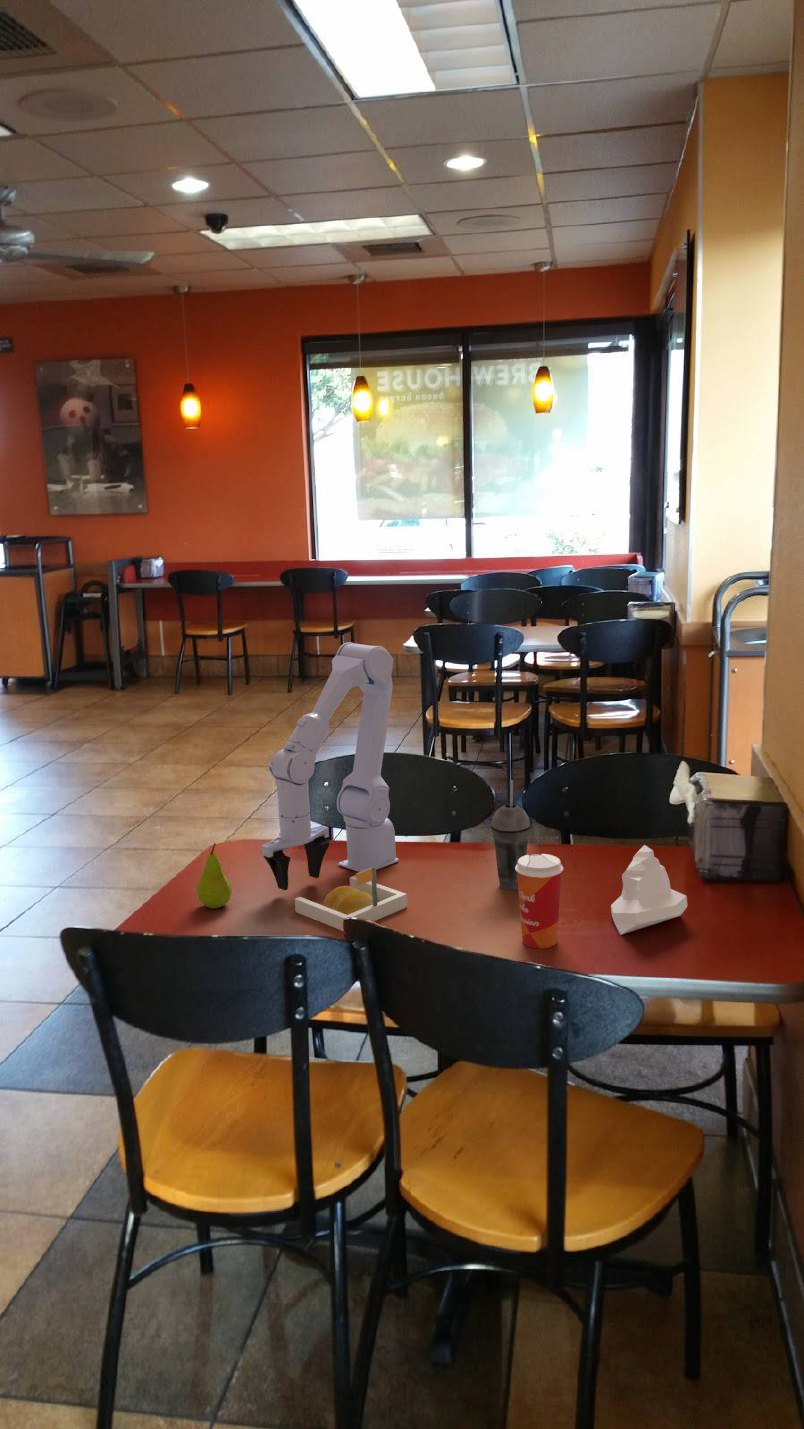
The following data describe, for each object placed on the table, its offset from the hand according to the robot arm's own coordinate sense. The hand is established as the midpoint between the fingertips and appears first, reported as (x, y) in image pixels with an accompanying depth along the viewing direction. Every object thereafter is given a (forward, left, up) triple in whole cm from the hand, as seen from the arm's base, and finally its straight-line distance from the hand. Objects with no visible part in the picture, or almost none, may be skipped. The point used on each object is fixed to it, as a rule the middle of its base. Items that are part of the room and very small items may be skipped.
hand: (298, 882), depth 200 cm
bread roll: (0, +14, -2) cm, 14 cm away
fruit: (+15, -6, -2) cm, 16 cm away
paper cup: (-11, +48, -2) cm, 50 cm away
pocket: (0, +14, -1) cm, 14 cm away
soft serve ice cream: (-28, +57, -2) cm, 64 cm away
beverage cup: (-27, +29, -2) cm, 40 cm away
